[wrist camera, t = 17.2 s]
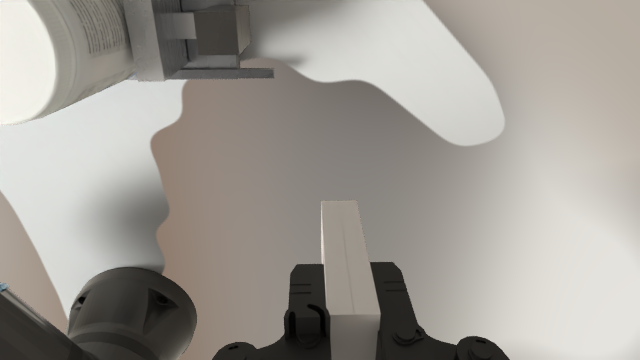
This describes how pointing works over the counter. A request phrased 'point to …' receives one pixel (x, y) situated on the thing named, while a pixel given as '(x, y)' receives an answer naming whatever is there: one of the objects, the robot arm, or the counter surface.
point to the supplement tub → (59, 54)
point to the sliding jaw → (181, 34)
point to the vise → (212, 63)
